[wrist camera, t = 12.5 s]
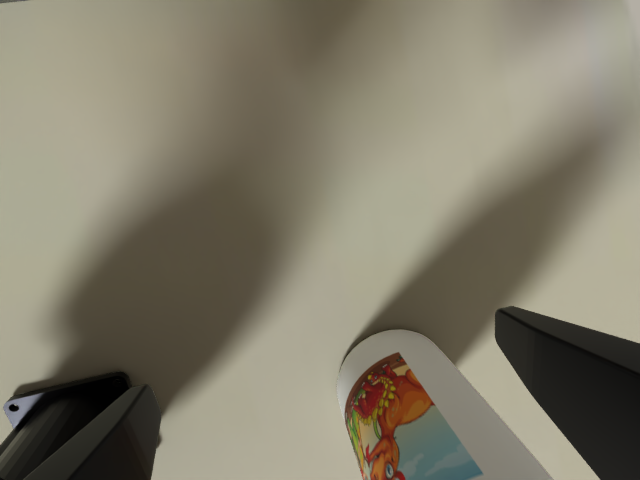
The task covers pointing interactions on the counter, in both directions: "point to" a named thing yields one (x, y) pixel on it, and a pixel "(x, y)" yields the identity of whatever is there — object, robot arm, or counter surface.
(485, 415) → the milk bottle
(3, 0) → the dark grey tray
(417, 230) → the counter surface
